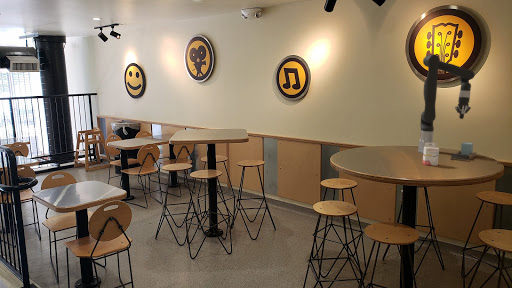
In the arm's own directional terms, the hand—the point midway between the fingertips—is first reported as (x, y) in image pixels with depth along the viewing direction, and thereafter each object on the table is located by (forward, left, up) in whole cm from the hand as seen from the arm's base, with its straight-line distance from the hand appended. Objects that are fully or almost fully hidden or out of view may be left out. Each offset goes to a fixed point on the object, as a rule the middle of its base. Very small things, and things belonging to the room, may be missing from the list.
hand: (461, 118), depth 303 cm
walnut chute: (-16, -22, -27) cm, 38 cm away
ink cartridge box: (-55, -33, -27) cm, 69 cm away
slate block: (-10, -18, -25) cm, 33 cm away
